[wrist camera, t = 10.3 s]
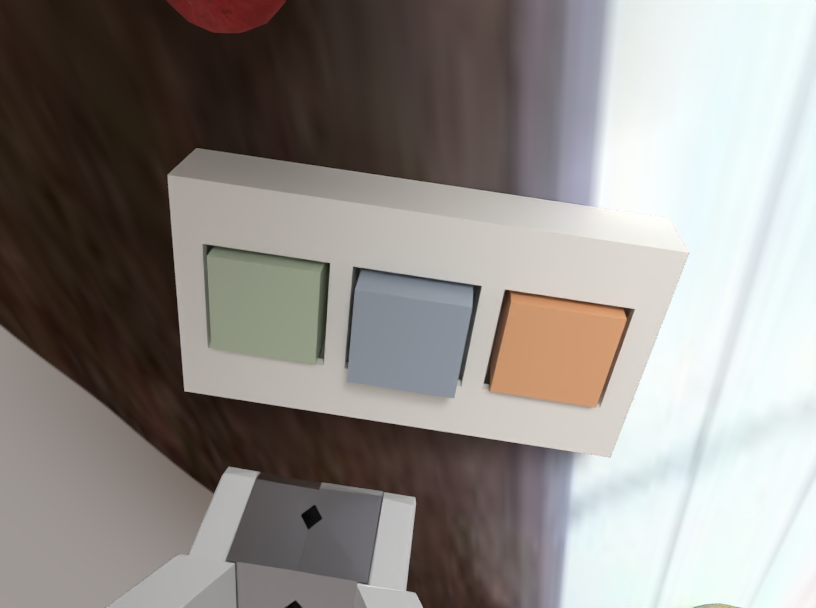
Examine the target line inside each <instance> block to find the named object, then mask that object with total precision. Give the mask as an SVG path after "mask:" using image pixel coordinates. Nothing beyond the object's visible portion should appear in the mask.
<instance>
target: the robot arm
mask: <svg viewBox="0 0 816 608" xmlns="http://www.w3.org/2000/svg"><path fill="white" fill-rule="evenodd" d="M382 498H383V500H382ZM381 505H382V506H381ZM415 508H416V499H415V497H410V496H404V495H398V494H391V493H385V492H384V494H383V491H376V490H370V489H363V488H356V487H349V486H343V485H336V484H329V483H322V484H321V483H316V482H311V481H305V480H300V479H295V478H290V477H284V476H279V475H274V474H268V473H263V472H257V471H251V470H245V469H240V468H234V467H228V468H227V470H226V471H225V472H224V473H223V475H222V477H221V479H220V481H219V484H218V486H217V488H216V491H215V493H214V495H213V497H212V500H211V502H210V504H209V507H208V509H207V511H206V514H205V516H204V519H203V521H202V523H201V525H200V528H199V530H198V532H197V534H196V537H195V539H194V541H193V544H192V546H191V548H190V551H189V553H188V555H183V554H177V555H176V556H174V557H173V558H172V559H170V560H169V561H168V562H166V563H165V564H164V565H162V566H161V567H160V568H158V569H157V570H155V571H154V572H153V573H151V574H150V575H149V576H147V577H146V578H145V579H143V580H142V581H141V582H139V583H138V584H137V585H135V586H134V587H133V588H131V589H130V590H129V591H127V592H126V593H125V594H123V595H122V596H121V597H119V598H118V599H117V600H115V601H114V602H112V603H111V604H110V605H108V606H107V607H106V608H423V607H422V605H421V603H420V601H419V599H418V597H417V595H416V593H413V592H408V591H406V586H407V578H408V569H409V560H410V551H411V543H412V534H413V525H414V516H415Z"/></svg>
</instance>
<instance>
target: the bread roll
mask: <svg viewBox="0 0 816 608" xmlns="http://www.w3.org/2000/svg"><path fill="white" fill-rule="evenodd" d="M695 608H739V607H735V606H731V605H725V604H708V605H703V606H698V607H695Z"/></svg>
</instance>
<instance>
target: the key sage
mask: <svg viewBox="0 0 816 608" xmlns="http://www.w3.org/2000/svg"><path fill="white" fill-rule="evenodd" d="M207 270H208V290H209V311H210V331H211V348H213V349H219V350H226V351H232V352H239V353H245V354H252V355H258V356H265V357H271V358H278V359H284V360H291V361H297V362H304V363H310V364H316V361H317V358H318V355H319V353H320V350H321V347H322V344H323V341H324V338H325V336H326V322H327V306H328V290H329V274H330V263H327V262H320V261H313V260H307V259H300V258H294V257H287V256H280V255H274V254H267V253H260V252H254V251H247V250H241V249H234V248H227V247H221V246H214V247H213V248H212V250H211V251H210V252H209V254H208V255H207Z"/></svg>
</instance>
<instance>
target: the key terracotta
mask: <svg viewBox="0 0 816 608" xmlns="http://www.w3.org/2000/svg"><path fill="white" fill-rule="evenodd" d="M626 321H627V318H626V315H625V312H624V309H623V307H618V306H611V305H605V304H598V303H591V302H585V301H578V300H572V299H565V298H558V297H552V296H545V295H539V294H532V293H525V292H519V291H512V290H506V292H505V296H504V300H503V305H502V309H501V314H500V318H499V322H498V327H497V331H496V335H495V340H494V344H493V349H492V353H491V357H490V391H492V392H498V393H505V394H511V395H518V396H524V397H531V398H537V399H543V400H550V401H556V402H563V403H569V404H576V405H582V406H589V407H595V408H596V406H597V404H598V401H599V398H600V395H601V392H602V389H603V386H604V384H605V381H606V378H607V375H608V372H609V369H610V366H611V364H612V361H613V358H614V355H615V352H616V349H617V346H618V344H619V341H620V338H621V335H622V332H623V329H624V326H625V324H626Z"/></svg>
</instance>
